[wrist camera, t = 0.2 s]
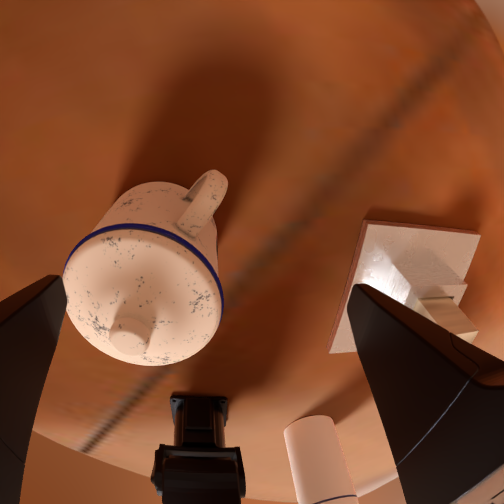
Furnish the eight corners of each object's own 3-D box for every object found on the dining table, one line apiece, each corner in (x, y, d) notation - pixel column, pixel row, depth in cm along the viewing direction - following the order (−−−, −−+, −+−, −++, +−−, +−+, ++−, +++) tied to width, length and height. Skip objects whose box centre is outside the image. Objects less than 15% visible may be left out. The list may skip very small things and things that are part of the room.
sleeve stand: (430, 336, 33) (447, 361, 29) (326, 346, 31) (339, 379, 27) (475, 231, 27) (502, 251, 23) (363, 219, 25) (388, 244, 21)
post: (419, 312, 29) (458, 365, 22) (387, 314, 29) (424, 373, 22) (433, 278, 27) (479, 330, 20) (401, 278, 27) (446, 335, 20)
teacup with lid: (177, 302, 27) (165, 418, 16) (86, 246, 23) (24, 347, 13) (270, 194, 23) (315, 284, 13) (167, 118, 20) (117, 146, 9)
